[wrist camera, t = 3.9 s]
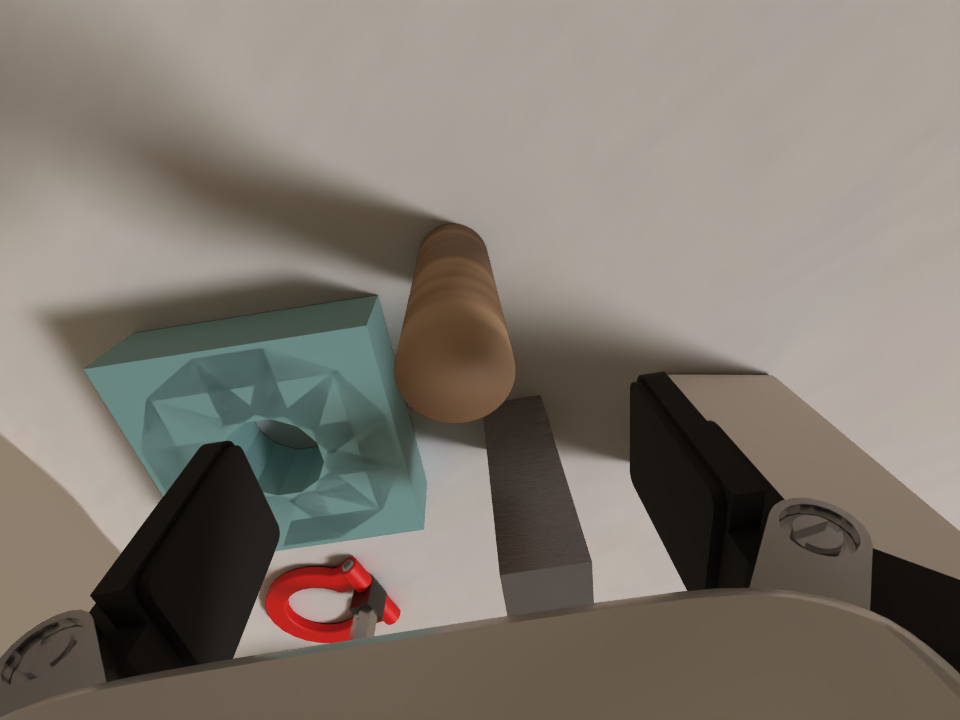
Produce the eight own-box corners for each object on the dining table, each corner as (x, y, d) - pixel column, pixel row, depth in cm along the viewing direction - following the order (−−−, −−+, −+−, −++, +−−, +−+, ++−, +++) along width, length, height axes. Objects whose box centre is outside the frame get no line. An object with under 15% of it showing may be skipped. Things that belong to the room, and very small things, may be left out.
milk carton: (738, 463, 32) (1044, 844, 16) (637, 464, 32) (842, 857, 15) (772, 373, 29) (1207, 734, 12) (660, 372, 29) (954, 746, 12)
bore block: (133, 333, 26) (83, 369, 22) (377, 295, 25) (366, 325, 22) (230, 511, 32) (203, 561, 28) (426, 482, 32) (423, 529, 28)
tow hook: (311, 639, 40) (408, 610, 38) (246, 854, 29) (380, 827, 27) (248, 580, 36) (352, 545, 34) (144, 800, 25) (292, 764, 23)
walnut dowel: (411, 229, 24) (381, 328, 13) (482, 218, 24) (508, 308, 13) (425, 296, 26) (408, 430, 15) (492, 286, 25) (521, 414, 15)
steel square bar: (481, 404, 29) (500, 575, 18) (540, 395, 29) (591, 561, 18) (489, 450, 31) (510, 630, 20) (544, 441, 31) (594, 618, 20)
